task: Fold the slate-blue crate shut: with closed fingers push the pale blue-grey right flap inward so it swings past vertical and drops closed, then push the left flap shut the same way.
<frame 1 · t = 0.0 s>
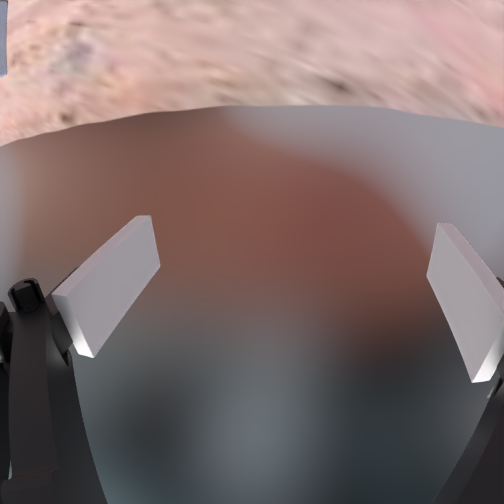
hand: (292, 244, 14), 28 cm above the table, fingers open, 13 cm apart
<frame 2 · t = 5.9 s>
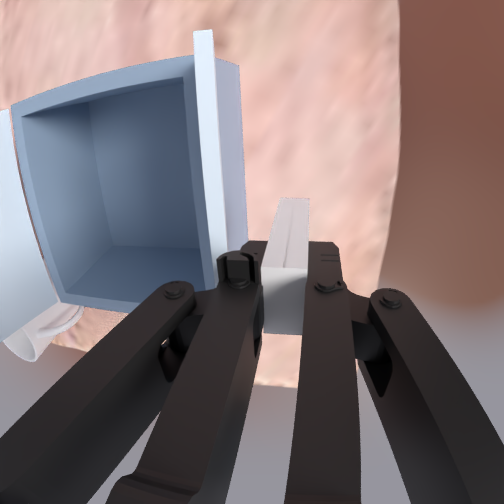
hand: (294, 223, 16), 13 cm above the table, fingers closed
mug: (73, 281, 38), on the table
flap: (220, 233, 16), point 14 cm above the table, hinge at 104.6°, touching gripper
crate: (160, 169, 29), on the table
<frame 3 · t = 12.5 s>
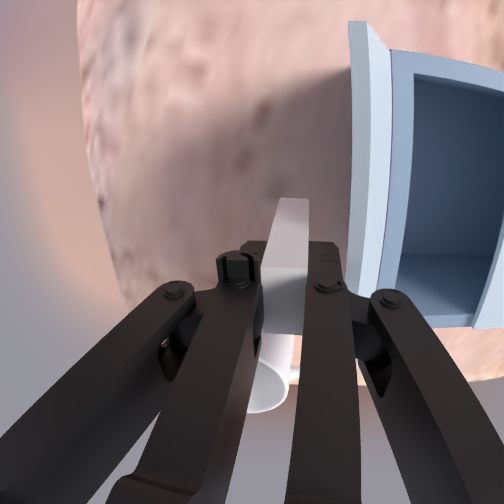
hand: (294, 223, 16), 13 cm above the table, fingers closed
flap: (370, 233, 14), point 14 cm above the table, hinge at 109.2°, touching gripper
mug: (275, 297, 34), on the table
crate: (446, 173, 24), on the table
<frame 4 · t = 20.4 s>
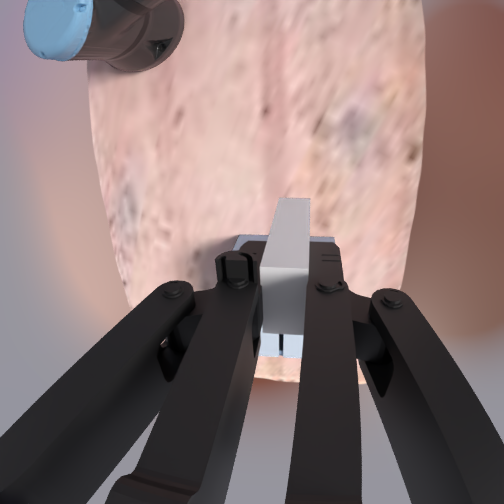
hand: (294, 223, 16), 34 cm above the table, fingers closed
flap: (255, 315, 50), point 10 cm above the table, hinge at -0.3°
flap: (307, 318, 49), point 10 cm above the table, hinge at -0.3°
crate: (286, 280, 59), on the table
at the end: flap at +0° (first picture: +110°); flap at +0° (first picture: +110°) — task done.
